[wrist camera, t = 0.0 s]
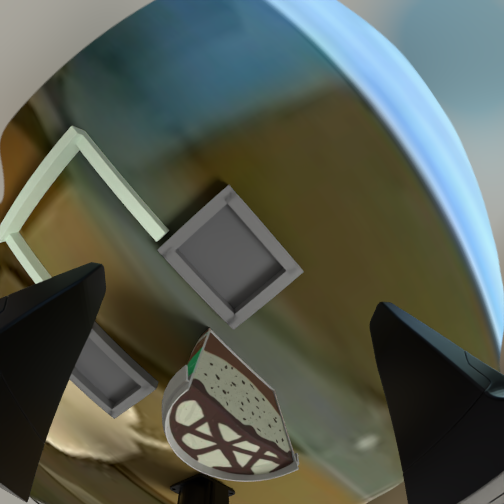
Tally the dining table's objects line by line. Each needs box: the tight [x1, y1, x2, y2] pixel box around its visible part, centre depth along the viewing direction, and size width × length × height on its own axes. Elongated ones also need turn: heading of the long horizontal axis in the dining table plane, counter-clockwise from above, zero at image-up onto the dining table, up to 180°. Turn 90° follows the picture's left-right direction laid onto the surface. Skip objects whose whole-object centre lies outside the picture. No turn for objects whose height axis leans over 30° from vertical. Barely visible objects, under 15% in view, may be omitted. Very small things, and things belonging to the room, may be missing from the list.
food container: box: [162, 328, 299, 482], centre depth 22 cm, size 12×6×10 cm, turn 40°
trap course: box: [0, 126, 304, 419], centre depth 23 cm, size 25×22×2 cm
